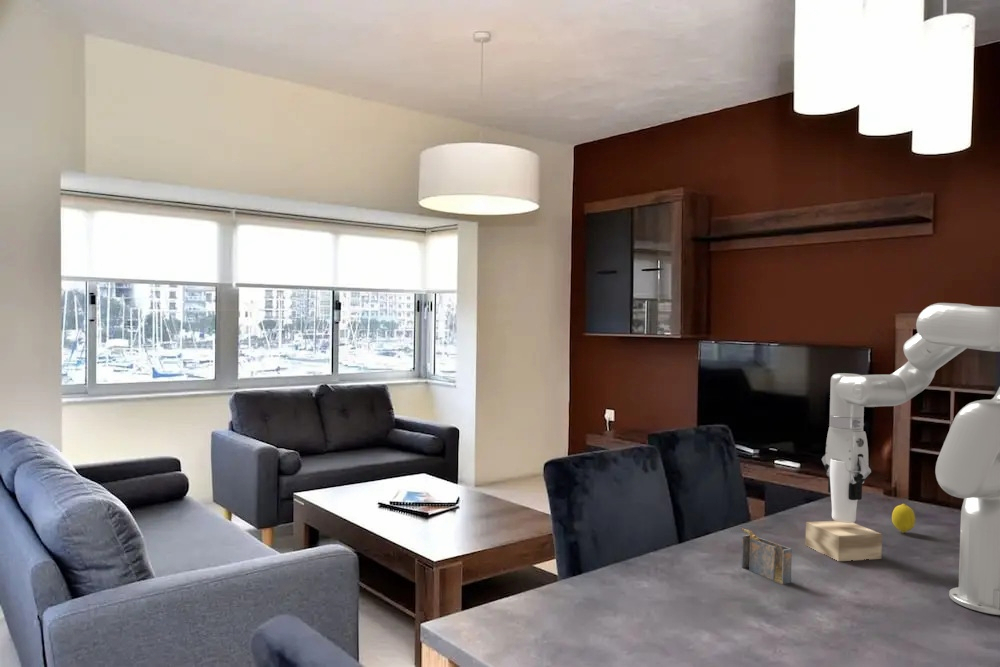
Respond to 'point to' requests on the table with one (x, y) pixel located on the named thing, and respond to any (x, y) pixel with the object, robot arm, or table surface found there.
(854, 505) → the drinking glass
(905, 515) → the lemon
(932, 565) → the table surface
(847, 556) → the wooden block
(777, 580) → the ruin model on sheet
